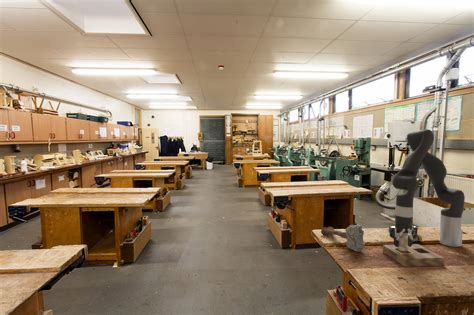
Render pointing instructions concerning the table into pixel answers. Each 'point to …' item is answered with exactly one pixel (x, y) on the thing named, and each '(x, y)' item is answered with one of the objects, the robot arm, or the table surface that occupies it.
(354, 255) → the table surface
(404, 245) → the birch peg
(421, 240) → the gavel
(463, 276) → the table surface
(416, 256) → the walnut board
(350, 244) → the hammer
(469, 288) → the table surface
